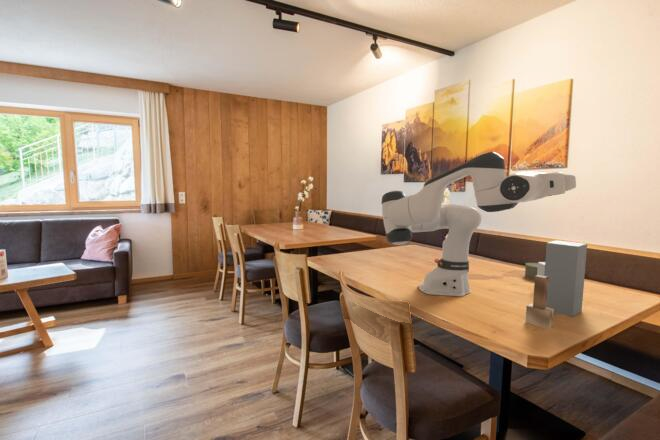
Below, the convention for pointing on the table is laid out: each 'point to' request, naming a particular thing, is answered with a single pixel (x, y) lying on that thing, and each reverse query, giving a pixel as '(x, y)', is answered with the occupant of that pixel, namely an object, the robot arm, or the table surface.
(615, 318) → the table surface
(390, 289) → the table surface
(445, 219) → the robot arm
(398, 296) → the table surface
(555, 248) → the pedestal
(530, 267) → the olive green block
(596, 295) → the table surface
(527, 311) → the mallet
